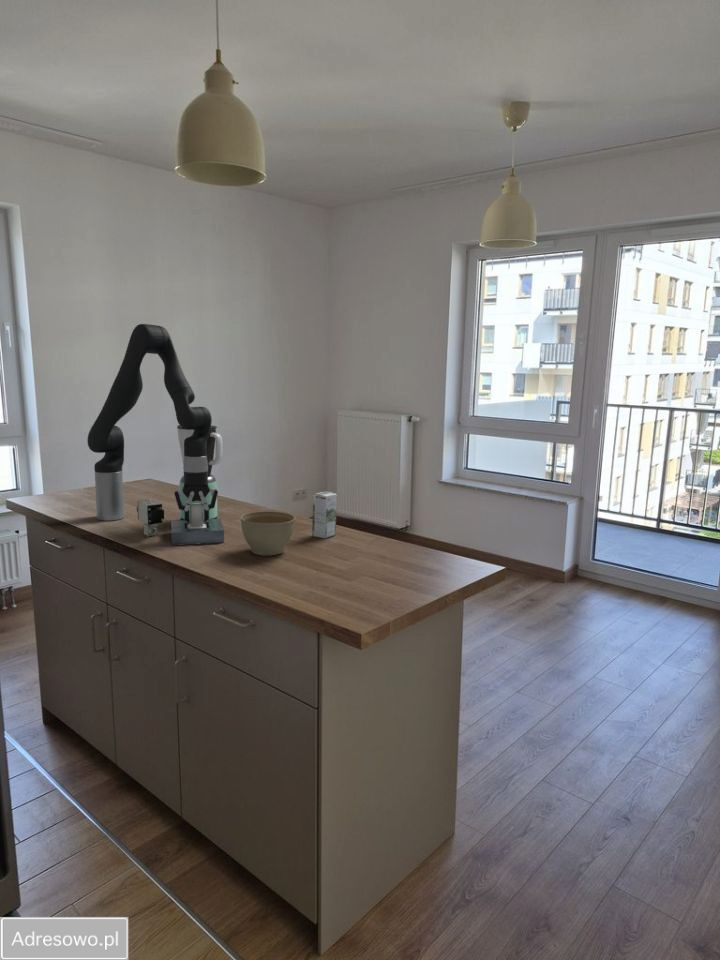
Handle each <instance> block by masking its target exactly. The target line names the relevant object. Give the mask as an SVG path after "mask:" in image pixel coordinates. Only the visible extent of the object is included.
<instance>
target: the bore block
mask: <svg viewBox="0 0 720 960" xmlns="http://www.w3.org/2000/svg"><path fill="white" fill-rule="evenodd" d="M189 524H190V520H189V522H187V521H185V520H171V521H170V526H171V527H170V528H171V529H170V531H171V532H170V535H171V536H170V537H171V539H170V540H171V546H181V545H180V544H187V545H198V544H197V543H206V544H222V543H221V542H224V543H225V529H224V526H223V523H222V520H221V518H217V519H208V520H207V522H205V521H204V519H203V524H206V528H192V529H187V526H188V525H189Z"/></svg>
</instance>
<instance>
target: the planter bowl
mask: <svg viewBox="0 0 720 960" xmlns="http://www.w3.org/2000/svg"><path fill="white" fill-rule="evenodd" d="M295 520H296V517H295V516H294V515H293V514H291V513H287V512H284V511H283V512H282V511H272V510H270V511H269V510H266V511H265V510H262V511H261V510H260V511H253V512H248V513H245V514H242V515H241V516H240V522H241V530H242V534H243V537H244V540H245V541H246V543H247V544H248V546H249V547H250V549H251V553H252V554H255V555H257V556H264V557H265V556H267V557H269V556H277V555H280V554H282V553H283V552H284V549H285V547H286V546H287V545H288V543H289V542H290V540H291V537H292V535H293V532H294V528H295V522H296V521H295Z"/></svg>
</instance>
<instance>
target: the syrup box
mask: <svg viewBox="0 0 720 960" xmlns="http://www.w3.org/2000/svg"><path fill="white" fill-rule="evenodd" d="M312 497H313V499H312V529H311V531H312V532H311V536H312V537H315V538H316V537H317V538H322V539H327V538H331V537H334V536H336V534H337V533H336V530H337V528H336V527H337V505H338V504H337V501H338V500H337V499H338V498H337V497H338V495H337V493H334V492H331V491H321V492H317V493H316V492H315V493H313V496H312Z"/></svg>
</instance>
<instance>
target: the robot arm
mask: <svg viewBox="0 0 720 960" xmlns="http://www.w3.org/2000/svg"><path fill="white" fill-rule="evenodd" d="M147 354H151V355H153V354H154V355H158V357H159V358H160V360H161V361H162V363H163V366H164V372H163V383H164V386H165V389H166V391H167V393H168V395H169V396H170V398H171V400H172V402H173V407H174V412H175V417H176V421H177V424H178V425H180V426H181V427H182V428H184V429H186V430H193V429H194V432H193V435H192V436H190V437H187V438H186V439H185V440H184V466H182V467H183V468H182V469H183V476H184V487H183V489H182V490H179V489H178V490H175V491H174V498H175V500H176V503H177V508H178V510H179V511H180V510H184V512H185V521H187V522H189V510H188V509H189V506H190V504H191V501H202V503H203V505H204V508H205V509H204V521H205V522H207V520H208V519H209V510H210V509H212V508H214V507H215V503H216V499H217V500H218V493H219V491H218V488H217V489H214V490H213V489H210V488H209V487H208V461H207V439H208V436H209V431H210V427H211V426H212V415H211V412H210V410H209V409H208V408H207V407H206V406H190V405H191V404H192V403H193V402H194V401H195V399H196V395H195V393H194V390H193V388H192V387H191V386H190V383H189V381H188V380H187V378H186V376H185V374H184V372H183V369H182V367H181V364H180V361H179V359H178V358H179V357H178V355H177V351H176V350H175V347H174V343H173V340H172V337H171V335H170V333H169V331H168V330H167V328H165V327H164V326H161V325H159V324H158V325H156V324H149V323H140V324H137V325H136V326H135V327H134V329H133V330H132V332H131V334H130V337H129V340H128V344H127V346H126V351H125V354H124V356H123V360H122V362H121V364H120V367H119V370H118V371H117V375H116V376H115V379H114V381H113V383H112V386H111V388H110V390H109V391H108V392H109V393H108V395H107V397H106V399H105V402H104V404H103V406H102V408H101V410H100V412H99V414H98V416H97V418H96V419H95V421H94V423H93V424H92V425H91V427H90V430H89V432H88V434H87V440H86V441H87V447H88V448H89V450H90V451H91V452H93V453H98V454H101V453H103V454H104V455H103V456H102V458H101V459H100V460H98V461H96V462H95V463H94V466H93V467H94V468H93V470H94V482H95V483H94V485H95V486H94V487H95V508H96V510H95V511H96V519H97V520H99V521H104V522H105V521H106V522H107V521H109V522H110V521H117V520H121V519H123V518H125V503H124V482H123V481H124V478H123V465H124V462H125V437H124V433H123V431H122V429H121V428H120V427H119V426H117V425H116V424H117V423H118V422H119V421H120V420H121V419H122V418H124V416H125V415H127V414H128V413H129V412H130V411H131V410H132V409H133V408H134V407H135V406H136V404H137V402H138V401H139V398H140V396H141V393H142V392H143V388H144V387H143V385H144V384H143V377H142V373H141V365H142V363H143V359H144V358H145V356H146V355H147ZM209 492H210V493H211V496H212V500H211V504H209V505H208V504H207V502H206V499H205V497H206V496H207V494H208V493H209ZM182 493H184V494H185V496H186V497H187V501H186V504H185V506H184V505H182V503H181V500H180V497H181V496H182Z"/></svg>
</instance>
